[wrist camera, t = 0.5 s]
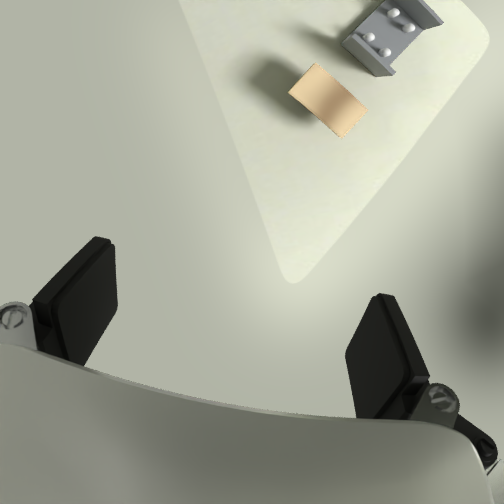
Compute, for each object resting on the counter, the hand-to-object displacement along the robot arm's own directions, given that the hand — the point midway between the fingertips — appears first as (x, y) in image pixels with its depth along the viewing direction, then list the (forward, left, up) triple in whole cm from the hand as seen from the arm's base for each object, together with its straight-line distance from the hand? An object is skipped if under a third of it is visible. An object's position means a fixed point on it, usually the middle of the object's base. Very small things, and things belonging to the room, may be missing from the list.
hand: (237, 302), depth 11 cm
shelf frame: (+2, +22, -31) cm, 38 cm away
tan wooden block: (+2, +9, -28) cm, 30 cm away
